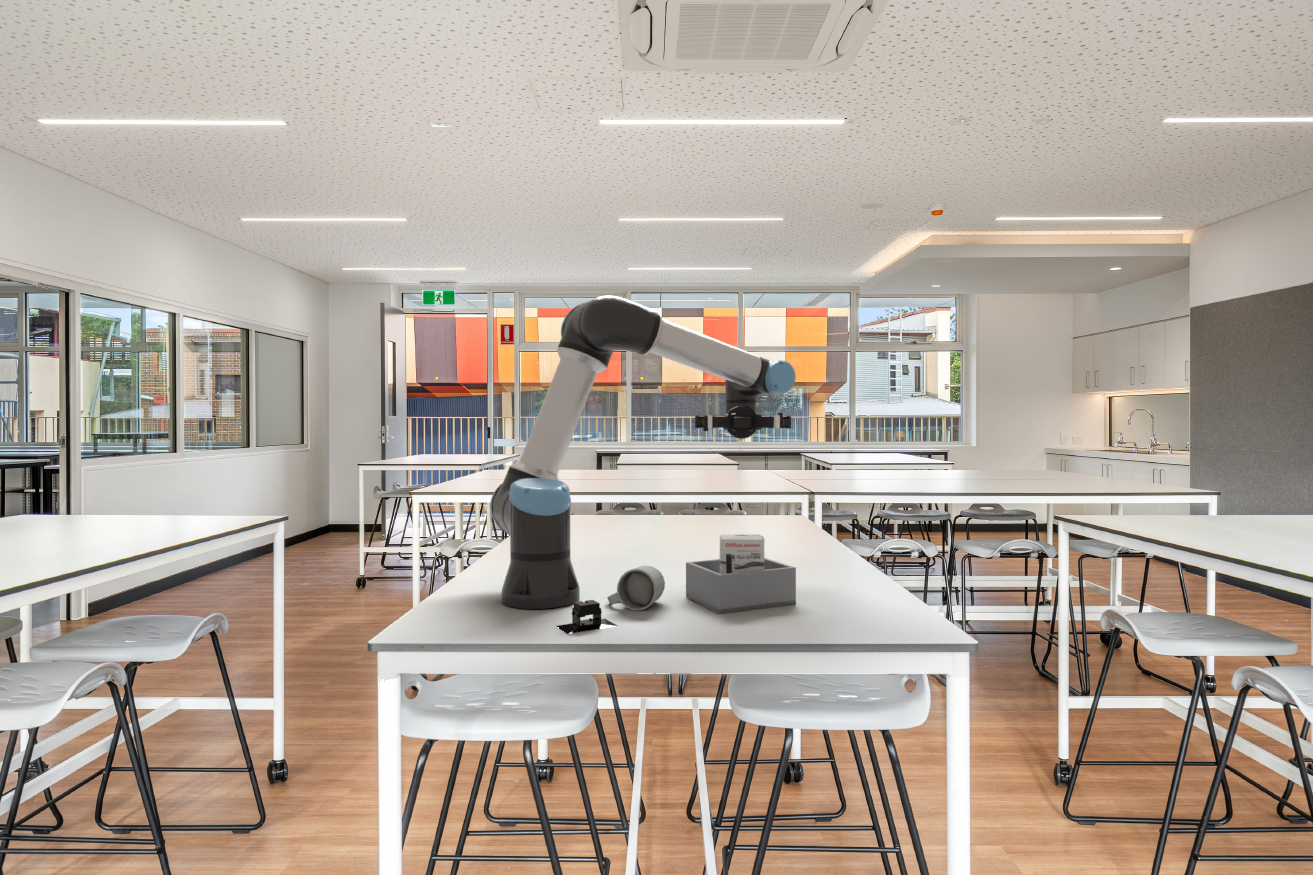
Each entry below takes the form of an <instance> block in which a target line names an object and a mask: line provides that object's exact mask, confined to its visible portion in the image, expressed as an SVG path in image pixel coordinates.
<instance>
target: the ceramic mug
mask: <svg viewBox="0 0 1313 875" xmlns="http://www.w3.org/2000/svg"><path fill="white" fill-rule="evenodd" d="M665 587H666V582H665V577H664V576H663V574H662V572H661V571H660V570H659V569H658V568H656V567H654V566H651V565H641V566H637V567H635V568H631V569H629V570H627V571H626V572H624V573H623V574H622V575H621V576H620V578H619V580H618V582H617V586H616V592H615V593H613V594H610V595H609V596H607V598H606V599H607V600H608V604H609V605H612V604H616V603H618V602H620V603H621V604H622V605H623V606H624V607H626V608H627V609H629V610H632V611H636V610H640V611H644V610H646V609H648V608H650V606H652V605H653V604H654V603H655V602H657V601H658V600H659V599H660V598H661V597H662V596H663V593H664V591H665Z"/></svg>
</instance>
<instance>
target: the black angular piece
mask: <svg viewBox="0 0 1313 875" xmlns="http://www.w3.org/2000/svg"><path fill="white" fill-rule="evenodd" d="M602 613H603V611H602V608H601V604H600V602H598V601H596V600H595V599H588V600H584V601H580V600H578V601H577V602H574V603H573V607H572V609H571V623H566V624H559V625H556V626H557V627H559V629H558V630H560V631H561V630H562V632H563V631H564V632H563V633H564V634H566V635H570V634H577V633H583V632H589V631H597V630H602V629H607V628H609V629H610V628H615V627H618V625H617V624H615V623H613V622H612V621H610V620H608V619H607V618H602ZM591 615H592V617H590V618H588V619H581V618H586V616H591ZM557 627H556V628H557Z"/></svg>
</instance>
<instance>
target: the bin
mask: <svg viewBox="0 0 1313 875" xmlns="http://www.w3.org/2000/svg"><path fill="white" fill-rule="evenodd" d="M719 571H720V558H718V559H715V558H714V559H709V560H708V559H706V560H697V561H695V560H694V561H685V598H687V599H689V600H690V599H691V601H692V600H693V602H695V603H697V604H699V605H701V606H703V607H705V608H707V609H709V610H711V611H713V612H715V613H717V614H719V615H721V614H729V613H738V612H744V611H745V612H746V611H753V610H761V609H769V608H775V607H776V608H777V607H784V606H792V605H796V603H797V601H796V600H797V574H796V573H797V567H795V566H792V565H789V564H785V563H783V562H779V561H777V560H773V559H769V558H766V557H764V570H757V571H747V572H738V573H728V574H720V573H719Z"/></svg>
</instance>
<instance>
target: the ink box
mask: <svg viewBox="0 0 1313 875" xmlns="http://www.w3.org/2000/svg"><path fill="white" fill-rule="evenodd" d="M764 558H765V537H764V536H763V535H762V534H759V533H756V534H755V533H754V534H753V533H749V534H744V533H743V534H741V533H738V534H735V533H732V534H731V533H725V534H723V533H722V534H720V535H719V559H720V571H719V573H720V574H728V573H738V572H747V571H757V570H764Z"/></svg>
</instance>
